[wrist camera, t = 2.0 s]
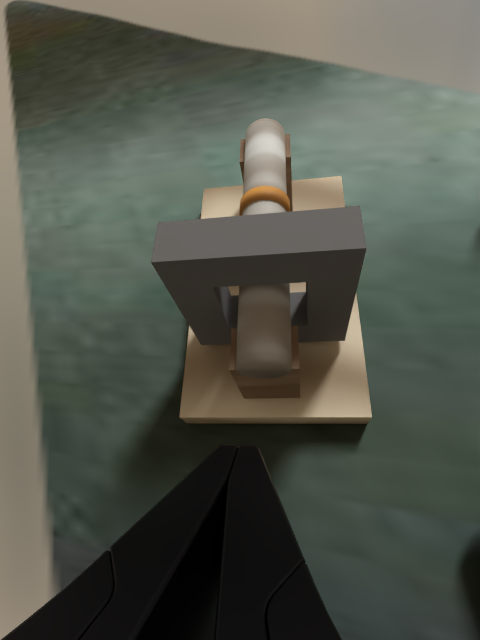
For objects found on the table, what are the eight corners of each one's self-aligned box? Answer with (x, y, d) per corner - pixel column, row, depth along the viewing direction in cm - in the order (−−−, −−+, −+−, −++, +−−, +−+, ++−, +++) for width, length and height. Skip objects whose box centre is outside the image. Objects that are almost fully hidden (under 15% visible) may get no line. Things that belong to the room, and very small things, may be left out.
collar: (344, 340, 20) (366, 247, 13) (201, 345, 21) (150, 262, 14) (341, 308, 21) (359, 205, 14) (203, 314, 22) (157, 222, 15)
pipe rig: (367, 423, 20) (397, 380, 14) (187, 423, 21) (136, 383, 15) (339, 192, 28) (350, 94, 21) (208, 203, 29) (181, 115, 23)
